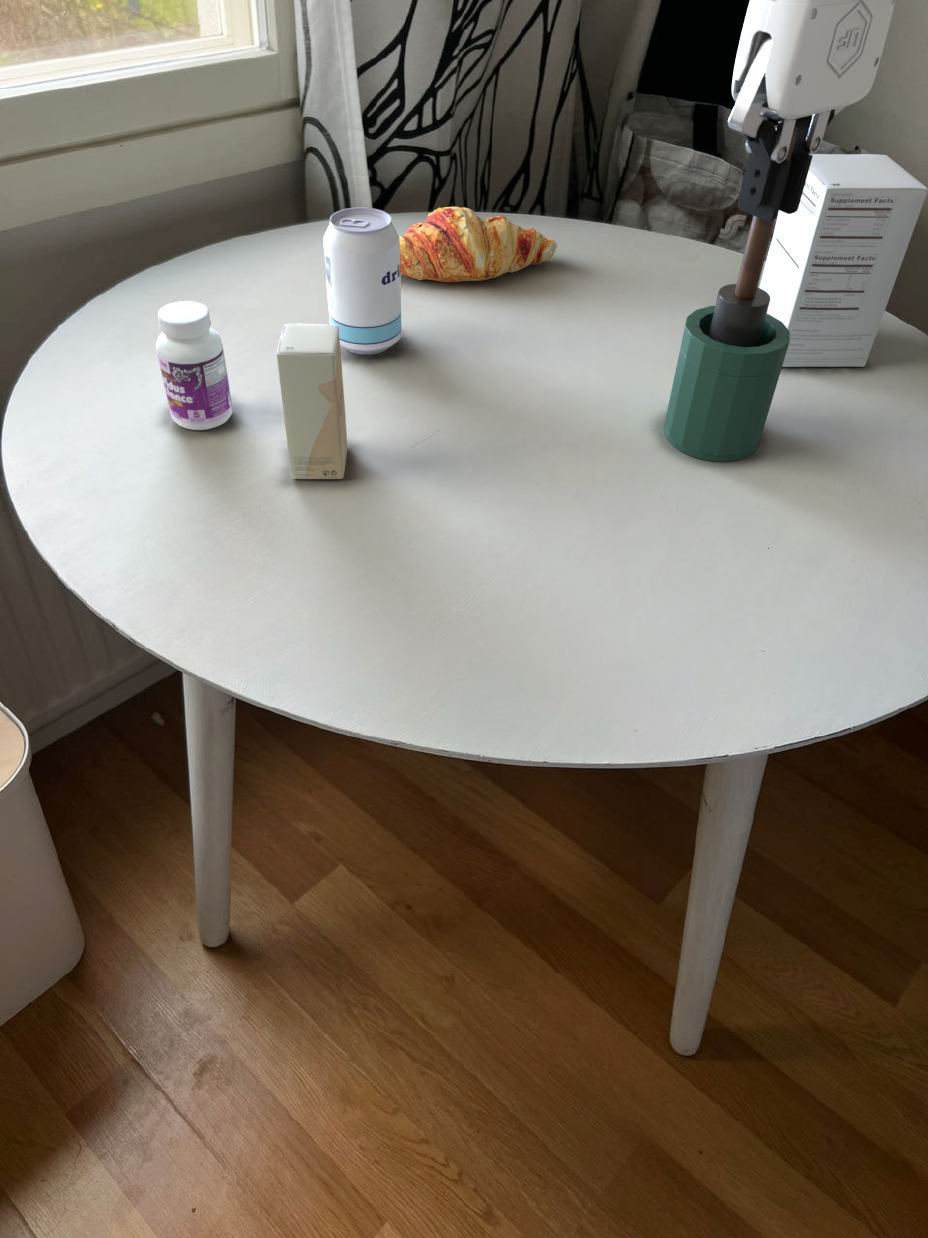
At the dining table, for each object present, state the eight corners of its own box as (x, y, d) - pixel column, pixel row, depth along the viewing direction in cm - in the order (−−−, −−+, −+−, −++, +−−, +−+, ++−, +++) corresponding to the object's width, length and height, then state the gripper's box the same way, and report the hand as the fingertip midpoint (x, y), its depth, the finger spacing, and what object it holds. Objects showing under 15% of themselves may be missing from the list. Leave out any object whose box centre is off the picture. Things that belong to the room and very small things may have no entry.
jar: (739, 407, 84) (767, 303, 77) (772, 459, 78) (806, 351, 71) (652, 412, 83) (673, 306, 76) (679, 464, 77) (704, 355, 70)
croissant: (543, 280, 110) (540, 208, 107) (572, 273, 100) (570, 193, 98) (367, 291, 105) (360, 216, 103) (381, 285, 96) (373, 201, 93)
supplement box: (867, 368, 90) (933, 189, 78) (775, 369, 89) (828, 188, 77) (832, 322, 96) (889, 151, 85) (746, 323, 96) (791, 150, 84)
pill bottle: (158, 423, 79) (133, 318, 72) (194, 394, 83) (173, 291, 76) (212, 438, 78) (192, 332, 71) (245, 407, 81) (229, 304, 75)
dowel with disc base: (747, 329, 76) (803, 118, 65) (764, 353, 73) (826, 136, 62) (701, 331, 76) (749, 118, 64) (717, 355, 73) (769, 137, 62)
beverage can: (391, 364, 88) (388, 238, 79) (322, 355, 88) (311, 229, 80) (409, 330, 93) (407, 208, 84) (343, 322, 93) (335, 200, 85)
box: (343, 481, 74) (334, 355, 66) (290, 480, 74) (274, 354, 66) (348, 444, 78) (339, 321, 70) (297, 443, 78) (283, 320, 70)
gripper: (818, -91, 49) (735, 253, 62) (977, -107, 56) (873, 205, 69) (710, -110, 53) (654, 217, 66) (871, -122, 60) (792, 174, 73)
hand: (767, 209), depth 67 cm, fingers closed on dowel with disc base, 1 cm apart
